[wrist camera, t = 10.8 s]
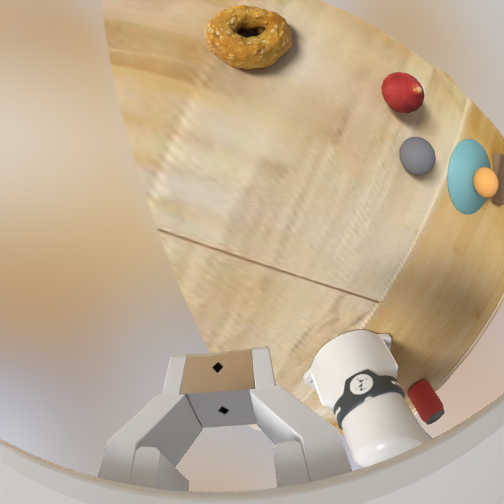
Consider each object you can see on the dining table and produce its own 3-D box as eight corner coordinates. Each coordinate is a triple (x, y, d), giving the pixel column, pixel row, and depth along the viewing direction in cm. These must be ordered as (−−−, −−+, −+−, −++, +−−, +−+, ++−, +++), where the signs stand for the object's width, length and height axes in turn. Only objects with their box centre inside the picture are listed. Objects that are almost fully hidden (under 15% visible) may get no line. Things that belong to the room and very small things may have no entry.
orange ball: (504, 194, 31) (495, 196, 30) (483, 198, 36) (472, 200, 35) (497, 165, 31) (488, 163, 29) (476, 170, 36) (465, 169, 35)
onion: (402, 79, 29) (434, 72, 22) (406, 115, 31) (440, 114, 24) (369, 74, 29) (399, 63, 21) (374, 112, 31) (406, 108, 24)
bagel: (289, 75, 29) (297, 65, 25) (203, 72, 28) (198, 61, 24) (291, 15, 25) (298, 0, 21) (208, 12, 25) (205, -4, 20)
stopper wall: (497, 153, 33) (506, 155, 31) (495, 201, 37) (504, 204, 35) (492, 152, 33) (501, 154, 31) (491, 201, 37) (499, 205, 35)
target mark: (493, 197, 37) (494, 198, 37) (454, 226, 39) (455, 226, 38) (482, 131, 32) (482, 131, 32) (439, 152, 33) (440, 152, 33)
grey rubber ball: (430, 147, 26) (405, 175, 30) (447, 162, 29) (424, 187, 33) (408, 123, 29) (386, 150, 33) (427, 139, 32) (406, 163, 36)
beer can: (402, 394, 56) (420, 426, 45) (419, 377, 54) (439, 409, 43) (414, 395, 58) (432, 425, 47) (430, 379, 56) (450, 409, 45)
